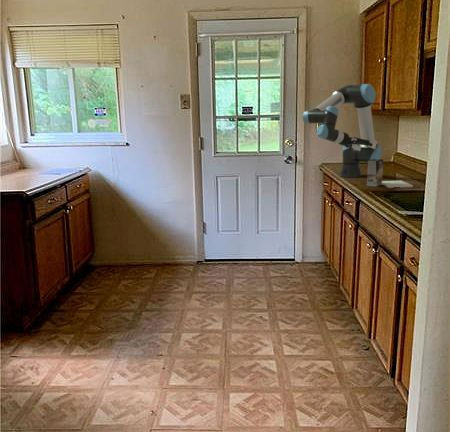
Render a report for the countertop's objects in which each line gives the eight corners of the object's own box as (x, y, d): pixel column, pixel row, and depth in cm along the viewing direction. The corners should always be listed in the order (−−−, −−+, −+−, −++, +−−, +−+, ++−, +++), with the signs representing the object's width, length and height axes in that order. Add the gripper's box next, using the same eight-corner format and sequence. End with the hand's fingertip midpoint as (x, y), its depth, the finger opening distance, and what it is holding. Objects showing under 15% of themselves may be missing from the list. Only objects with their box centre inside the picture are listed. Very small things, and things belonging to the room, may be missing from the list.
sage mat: (378, 182, 294) (378, 181, 294) (401, 182, 294) (401, 180, 294) (388, 187, 276) (388, 186, 275) (412, 187, 275) (412, 185, 275)
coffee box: (376, 186, 280) (377, 160, 276) (366, 186, 284) (367, 160, 280) (382, 184, 287) (383, 159, 283) (372, 183, 291) (373, 158, 287)
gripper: (326, 145, 284) (353, 155, 292) (352, 141, 261) (380, 152, 269) (329, 134, 284) (355, 143, 293) (355, 129, 261) (383, 139, 270)
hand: (367, 147), depth 281 cm, fingers open, 13 cm apart
